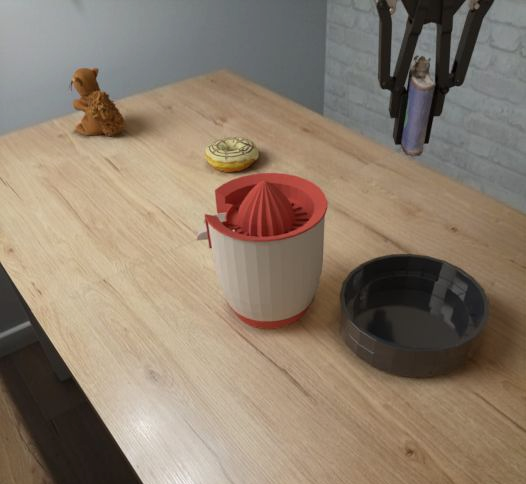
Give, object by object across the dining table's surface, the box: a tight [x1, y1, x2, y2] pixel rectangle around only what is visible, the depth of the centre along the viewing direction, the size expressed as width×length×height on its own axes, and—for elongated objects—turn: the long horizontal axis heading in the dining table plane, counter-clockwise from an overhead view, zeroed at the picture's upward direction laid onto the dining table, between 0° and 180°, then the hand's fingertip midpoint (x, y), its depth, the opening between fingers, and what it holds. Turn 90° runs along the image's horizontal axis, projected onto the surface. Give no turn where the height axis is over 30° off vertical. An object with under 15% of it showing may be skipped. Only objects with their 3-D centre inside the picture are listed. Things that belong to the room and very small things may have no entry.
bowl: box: [337, 253, 490, 378], centre depth 71 cm, size 19×19×6 cm
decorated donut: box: [204, 136, 260, 173], centre depth 106 cm, size 10×11×4 cm
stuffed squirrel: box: [68, 67, 127, 137], centre depth 116 cm, size 10×14×13 cm
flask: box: [400, 55, 435, 158], centre depth 67 cm, size 9×3×11 cm, turn 173°
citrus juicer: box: [196, 172, 328, 329], centre depth 70 cm, size 16×17×20 cm
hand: (410, 139), depth 71 cm, fingers closed on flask, 3 cm apart
